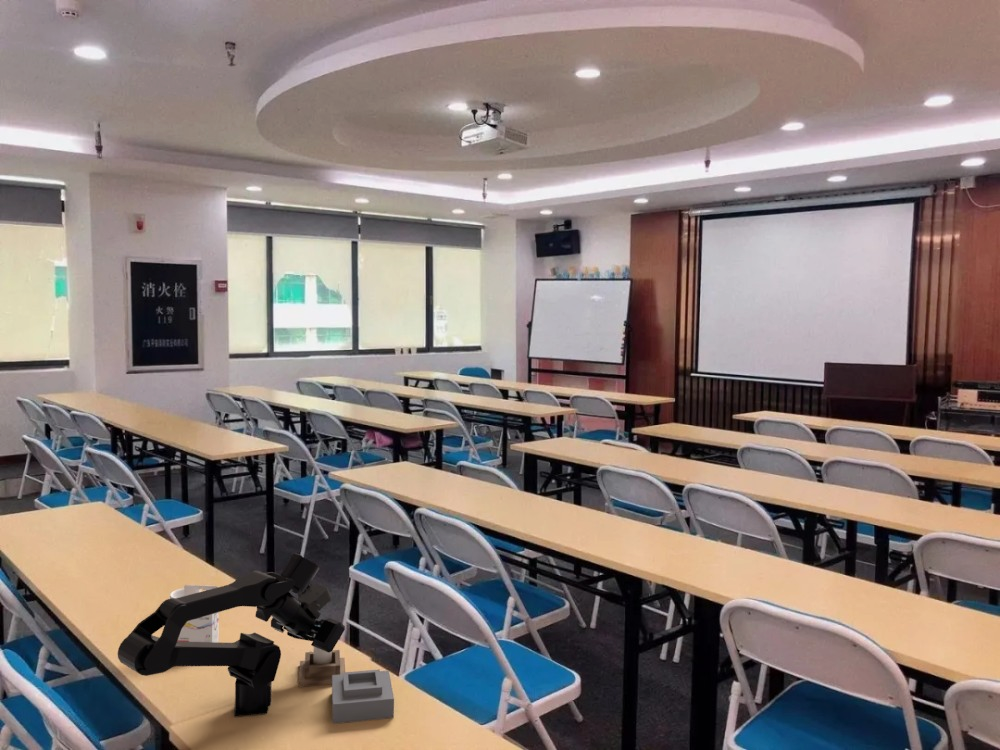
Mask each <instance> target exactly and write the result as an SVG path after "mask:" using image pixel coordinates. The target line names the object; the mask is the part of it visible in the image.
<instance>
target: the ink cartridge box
mask: <svg viewBox="0 0 1000 750" xmlns="http://www.w3.org/2000/svg"><path fill="white" fill-rule="evenodd" d="M218 587H219V586H217V585H205V584H201V585H200V584H185V585H184V587H183V588H184V592H185V596H187V595H191V594H195V593H199V592H195V590H202V591H206V590H210V589H214V588H218ZM219 613H220V612H218V613H214V614H211V615H207V616H204V617H201V618H197V619H194V620H190V621H187V622H186V624H185V625H184V626H183V628H182V629H181V632H180V635H179V638H178V641H177V642H219V623H220V622H219V616H220V615H219Z"/></svg>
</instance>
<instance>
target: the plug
mask: <svg viewBox="0 0 1000 750" xmlns="http://www.w3.org/2000/svg"><path fill="white" fill-rule="evenodd" d="M315 626H316V625H315ZM318 626H319V625H318ZM314 637H315V635H314ZM312 652H313V663H314V664H316V665H323V664H329V663H331V661H332V651H331V652H329V653H328V652H326V651H324V650H321V649H319V648H316V647H314V646H313V651H312Z"/></svg>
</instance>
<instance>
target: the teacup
mask: <svg viewBox="0 0 1000 750" xmlns="http://www.w3.org/2000/svg"><path fill="white" fill-rule="evenodd" d="M195 592H202V589H199V590H195ZM183 596H185V592H184V587H183V588H177V589H176V590H173V591H171V592H170V594H169V599H171V598H179V597H183Z"/></svg>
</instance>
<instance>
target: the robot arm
mask: <svg viewBox="0 0 1000 750" xmlns="http://www.w3.org/2000/svg"><path fill="white" fill-rule="evenodd" d="M319 570H320V567H319V566H318V564H316V563H315V562H312V561H311V560H309V559H307V558H305V557H303V555H301V554H299V553H297V552H294V553H293V554H292V555H291V557H290V559H289V560H288V563H287V565H286V566H285V567H284V569H283V570H282V571H281V573H280V574H279V573H276V572H273V571H271V572H270V571H269V572H263V571H259V570H252V571H250V572H247V573H245V574H242V575H240V576H239V577H237V578H236V579H235V580H234V581H233V582H231V583H229V584H226V585H221V586H217V587H218V588H214V589H210V590H201V592H199V593H195V594H191V595H187V596H183V597H179V598H171V599H170V598H166V599H165V600H164V601H162V602H161V604H160V605H159V606H158V607H157V608H156V610H155V611H154V612H153V613H151V614H149V615H148V616H147V617H145V618H144V619H143V620H141V621H140V622H139V623H138V624H137V625H136V626H135V627H134V629H133V630H132V631H131V632H130V633H129V634H128V635H127V636H126V637H125V638H124V639H123V641H121V643H120V645H119V647H118V648H117V649H118V650H117V659H118V660H119V662H120V663H121V664H123V665H125V666H126V667H127V668H129V669H131V670H133V671H135V672H136V673H137V674H139V675H141V676H145V677H146V676H147V677H148V676H152V675H159V674H163V673H165V672H166V673H167V671H169V670H171V669H172V668H176V667H227V671H228V673H229V676H230V677H233V678H235V683H234V687H235V688H234V695H235V696H234V697H235V698H234V701H235V702H234V706H235V707H234V712H233V717H243V716H244V717H246V716H256V715H265V714H268V713H269V707H271V705H272V693H273V692H272V689H273V688H272V682H275V679H276V675H277V673H278V672H277V671H278V669H279V664H280V661H281V656H282V651H281V648H280V646H279V645H277V644H275V641H273V640H272V639H269V638H267V637H265V636H263V635H261V634H259V633H256V632H253V633H248V634H247V633H244V632H241V633H240V634H239V639H237V640H236V641H234V642H219V641H218V642H177V641H178V638H179V635H180V632H181V629H182V628H183V626H184V625H185V624H186V622H187V621H190V620H194V619H197V618H201V617H204V616H207V615H211V614H214V613H218V612H219V613H221V612H224V611H228V610H231V609H234V608H237V607H238V608H239V607H240V608H241V607H250V608H251V607H252V608H256V611H255V616H254V617H255V618H257V619H259V620H262V621H263V622H266V623H267V622H269V620H270V627H271V628H272V629H274V630H275V631H277V632H279V633H282V634H284V632H285V631H287V632H286V634H287V636H289V637H291V638H294V639H298V640H304V641H309V642H312V643H311V644H310V646H312V647H313V648H314V647H316V648H319V649H321V650H324V651H326V652H328V653H329V652H331V651H332V650H335V647H336V645H338V644H337V643H338V642H339V640H340V639H341V637H342V635H343V633H344V632H345V631H346V626H345V624H343V623H342V622H341V621H339V620H336V619H333V618H331V617H329V618H326V619H323V618H322V619H320V620H318V619H319V618H320V617H321V612H319V611H320V610H322V609H323V608H324V607H325V606H326V605H327V604H328V603H330V602H331V601H332V600H333V599H332V596H331V593H330V591H329V588H328V587H327V586H325V585H322V584H320V583H311V582H312V581H313V580H314V578H315V576H316V574H317V573H318V572H319ZM291 592H292V593H293V594H295V595H296V594H297V596H298V597H297V598H296V597H295V596H294V595H293V594H292V593H291ZM270 618H271V619H270ZM315 625H316V626H315ZM318 625H319V626H318ZM160 629H162V632H161V635H160V636H156V635H153V634H154V633H156V632H158V631H159V630H160ZM314 635H315V637H314Z"/></svg>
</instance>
